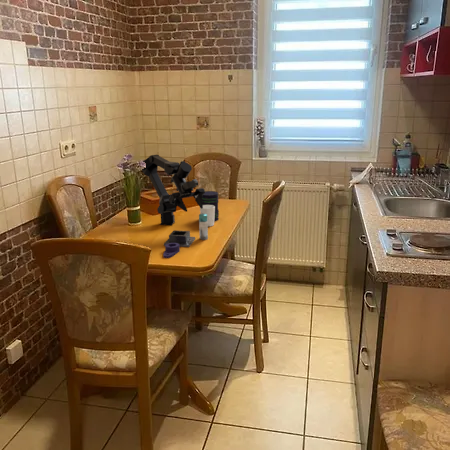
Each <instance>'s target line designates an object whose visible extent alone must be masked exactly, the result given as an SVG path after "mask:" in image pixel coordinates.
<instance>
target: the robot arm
mask: <svg viewBox="0 0 450 450" xmlns="http://www.w3.org/2000/svg"><path fill="white" fill-rule="evenodd" d="M142 162H145V163H146V168H144V169H142V170H141V172H142V173H143V174H144V175H145V176H146V177H148V179H149V180H150V181H151V183H152V185H153V188H154V190H155V192H156V193H157V196H158V198H159V201H158V204H159V206H158V207H157V209H156V210H157V214H160V224H159V225H161V226H172V225H173V224H174V223H175V221H176V219H175V214H174V213H177V207H178V208H180V210H183V212H185V213H186V212H188V209H187V207H186V205H185V203H184V201H183V199H185V198H187V199H188V198H190V197H193V198H194V201H195V202H196V204H197V205H198V206H199V209H200V208H201V209H202V208H203V204H202V196H203V195H204V193H205V191H206V190H205V189H204V187H200V188H197V186H199V181H198V180H197V178H195V179H192V180H190V181H187V180H186V178H187V177H188V176H189V174H190V173H191V171H192V169H193V167H192V165H190V164H189V163H188V162H186V161H185V160H181V161H180V162H178V161H170V160H168V159H166V158H164V157H162V156H160V154H152V155H149V156H148V157H147V158H145V159H143V161H142ZM159 167H160V168H161V169H163V170H164V171H163V172H164V173H166V175H168V176H171V179H170V183H174V185H175V188H176V189H175V190H176V192H172V193H171V194H169V193H168V191H167V189H166V187H165V186H164V184H163V181H162V180H161V178H160V175H159V173H158V171H159V170H158V169H159ZM195 188H196V189H195ZM194 189H195V190H194Z"/></svg>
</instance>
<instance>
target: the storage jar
mask: <svg viewBox="0 0 450 450" xmlns="http://www.w3.org/2000/svg"><path fill="white" fill-rule="evenodd" d="M202 204H203V205H214V206H215V219H214V222H217V221H219V215H220V214H219V212H220V211H219V192H218V191H212V190H207V191H206V190H205V193H204V195H203V196H202Z"/></svg>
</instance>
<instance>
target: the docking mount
mask: <svg viewBox="0 0 450 450" xmlns="http://www.w3.org/2000/svg"><path fill="white" fill-rule="evenodd" d="M190 233H191V230H175V229H173V230H172V232H171V233H170V234H169V235H168V238H167V240H166V241H165V242H164V243H163V246H164V247H165V245H166V244H168V243H178V244H179V246H180V247H182V248H190V246H192V244H193V242H194V241H195V240H196V237H195V236H191V234H190Z"/></svg>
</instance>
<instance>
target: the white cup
mask: <svg viewBox="0 0 450 450" xmlns="http://www.w3.org/2000/svg"><path fill="white" fill-rule="evenodd" d="M199 212H200V213H199V214H207V221H208V227H213V226H214V225H215V221H214V219H215V206H214V205H203V208H202V209H201V208H200V207H199Z"/></svg>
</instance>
